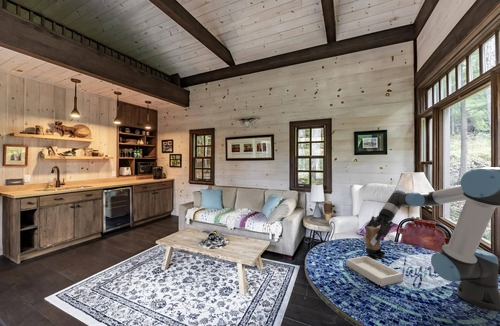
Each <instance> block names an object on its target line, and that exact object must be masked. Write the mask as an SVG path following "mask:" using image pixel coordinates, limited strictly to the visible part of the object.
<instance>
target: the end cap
mask: <svg viewBox="0 0 500 326" xmlns="http://www.w3.org/2000/svg"><path fill="white" fill-rule="evenodd" d="M365 251H366V254H367V255H368V257H370V258H372V257H373V258H372V259H374V258H375V259H374V260H377V259H381V258H385V255H386V253H385V251H386V248H385V247H382V246H380V249H378V250H372V249H369V248H367V247H366V248H365Z"/></svg>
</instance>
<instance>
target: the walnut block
mask: <svg viewBox="0 0 500 326" xmlns="http://www.w3.org/2000/svg"><path fill="white" fill-rule="evenodd" d="M365 227H366V226H365ZM379 229H380V227H378V226H377V227H374V226H369V227H366V229H365V233H366V242H365V247H366V248H369V249H372V250H378V249H380V247H381V245H380V243H381V240H380V239H381V238H380V239H379V241H377V242H376V243H375V245H374V246H373V245H372V244H371V243H370V242H371V240H372V239H373V237H374V236H375V235H376V234H378V232H379Z"/></svg>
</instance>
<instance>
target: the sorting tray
mask: <svg viewBox="0 0 500 326" xmlns="http://www.w3.org/2000/svg"><path fill="white" fill-rule="evenodd" d="M345 265H346V267H349V268H350V269H351V270H353V271H355V272H356V273H357V274H359V275H362V276H363V277H365V279H368V280H370V281H372V282H373V283H374V284H377V285H378V286H379V285H380V287H384V286H389V285H392V284H396V283H400V282H403V281H404V273H403V272H400V271H399V270H396V269H394V268H392V267H390V266H388V265H386V264H384V263H382V262H380V261H378V260H377V259H374V258H372V257H370V256H369V255H368V256H367V255H364V256H358V257H351V258H347V259H346V264H345Z"/></svg>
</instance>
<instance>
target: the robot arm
mask: <svg viewBox="0 0 500 326" xmlns="http://www.w3.org/2000/svg"><path fill="white" fill-rule="evenodd" d="M463 201H464V203H463V207H462V209H461V212H460V214H459V216H458V218H457V220H456V224H455V227H454V229H453V232H452V234H451V237H450V239H449V241H448V243H447V244H443V245H442V246H441V249H440V251H439V252H436V253H434V254H432V255H431V258H430V264H431V266H432V267H433V270H434V271H435V273H436V274H437V275H438V276H439V277H440V278H442V279H443V280H445V281H448V282H456V283H457V282H459V284H458V285H457V288H456V294H457V296H458V297H460V298H461V299H462V300H464V301H466V302H467V303H469V304H471V305H474V306H477V307H479V308H482V309H486V310H490V311H491V310H492V311H500V289H499V265H500V263H499V258H498V256H496V255H495V254H493V253H491V252H489V251H486V250H482V249H479V248H478V247H479V245H480V243H481V241H482V238H483V236H484V234H485V232H486V230H487V228H488V226H489V224H490V221H491V219H492V217H493V214H494V213H495V210H496V208H500V167H489V166H488V167H487V166H484V167H476V168H472V169H469V170H468V171H466V172H465V173H463V175H462V176H461V178H460V183H459V184H458V185H455V186H450V187H446V188H443V189H439V190H433V191H430V192H407V193H406V192H405V191H402V190H399V189H397V190H394V192H392V194H391V195H390V196H389V198H388V200H387V201H385V202H386V203H384V205H383V207H382V208H381V210H380V211H379V212H378V215H377V216H373V215H372V216H371V219H370V220H369V222H367V224H366V226H365V227H364V229H365V230H366V227H369V226H374V227H377V228H378V227H379V226H380V227H379V228H380V229H379V232H378V234H376V235H375V236H374V237H373V239H372V240H371V242H370V243H371V244H372V245H373V246H374V245H375V243H376V242H377V241H379V239H381V238H386V237H387V236H388V234H389V232H390V231H391V229H392V228H393V227H394V226H395V223H394V222H393V219H394V218H395V216H396V215H397V213H399V211H400V210H401V208H402V207H413V208H414V207H426V206H427V207H430V206H431V207H436V206H437V207H439V206H441V205H444V204H450V203H456V202H463ZM361 240H362V241H363V243H366V232H365V233H364V235H363V237H362V238H361Z"/></svg>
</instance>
